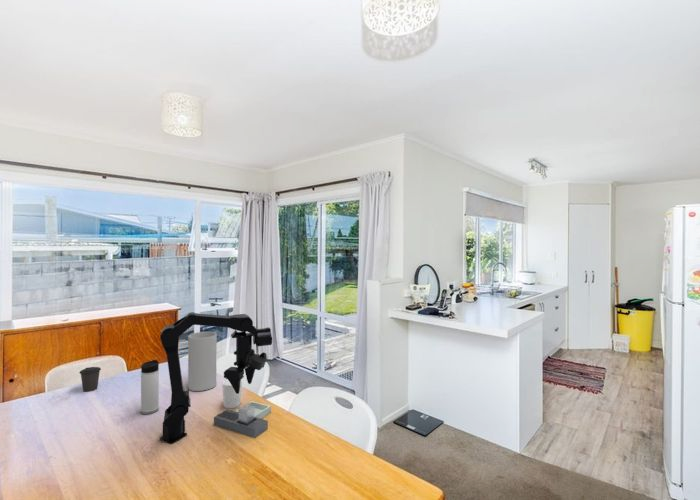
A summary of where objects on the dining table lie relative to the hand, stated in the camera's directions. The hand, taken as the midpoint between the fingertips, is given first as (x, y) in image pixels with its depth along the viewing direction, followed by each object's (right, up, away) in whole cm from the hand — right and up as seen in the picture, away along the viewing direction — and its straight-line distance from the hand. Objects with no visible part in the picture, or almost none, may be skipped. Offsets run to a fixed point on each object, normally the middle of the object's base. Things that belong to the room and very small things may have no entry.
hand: (243, 388), depth 132 cm
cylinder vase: (-30, -13, +34) cm, 47 cm away
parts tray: (+2, -13, +6) cm, 15 cm away
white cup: (-10, -13, +15) cm, 22 cm away
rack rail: (0, -13, -3) cm, 14 cm away
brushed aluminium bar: (+2, -13, -4) cm, 14 cm away
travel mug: (-41, -13, +9) cm, 44 cm away
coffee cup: (-81, -13, +30) cm, 88 cm away
